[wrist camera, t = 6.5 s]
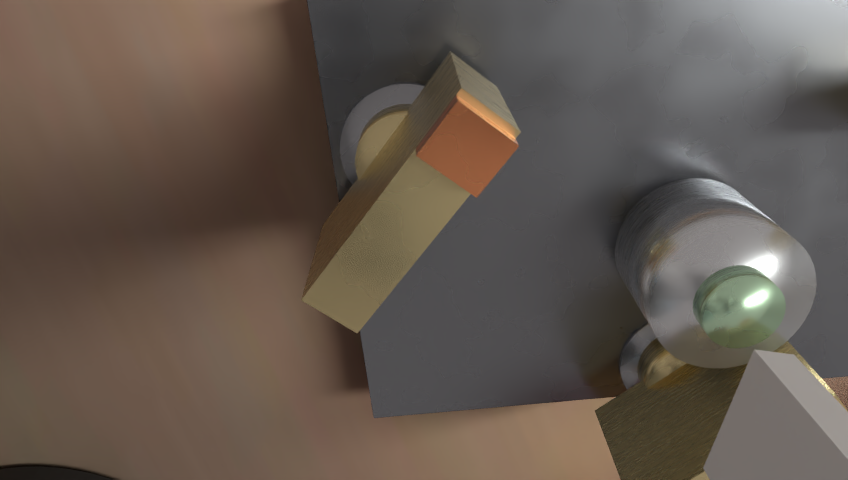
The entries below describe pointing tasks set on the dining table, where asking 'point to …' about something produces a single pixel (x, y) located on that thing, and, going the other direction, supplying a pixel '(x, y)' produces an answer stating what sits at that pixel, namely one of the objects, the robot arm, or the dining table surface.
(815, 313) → the levelling plate
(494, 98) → the knob
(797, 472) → the robot arm
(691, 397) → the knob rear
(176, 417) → the dining table surface
